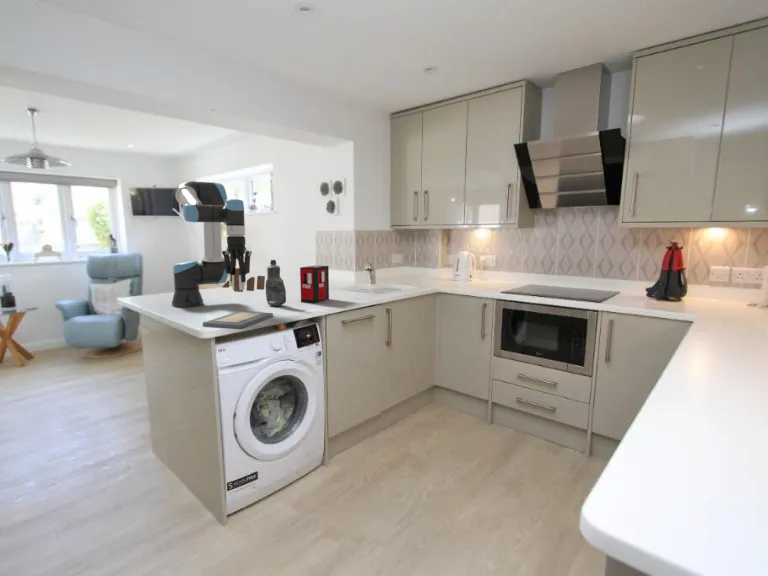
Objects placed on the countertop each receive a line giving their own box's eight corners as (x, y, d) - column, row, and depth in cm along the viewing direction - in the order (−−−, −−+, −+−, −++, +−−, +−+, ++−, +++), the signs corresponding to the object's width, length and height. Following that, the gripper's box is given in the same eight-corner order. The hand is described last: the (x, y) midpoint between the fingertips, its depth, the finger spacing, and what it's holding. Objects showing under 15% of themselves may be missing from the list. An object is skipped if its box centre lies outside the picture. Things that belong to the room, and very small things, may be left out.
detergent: (289, 305, 216) (288, 259, 213) (281, 308, 210) (279, 260, 206) (270, 304, 221) (268, 259, 218) (261, 306, 215) (259, 259, 211)
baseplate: (202, 326, 167) (202, 321, 167) (239, 314, 192) (239, 310, 192) (240, 328, 163) (240, 324, 163) (273, 316, 188) (272, 312, 188)
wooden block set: (262, 293, 186) (264, 271, 187) (265, 292, 178) (266, 270, 179) (221, 291, 179) (222, 268, 180) (221, 290, 171) (223, 267, 172)
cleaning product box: (314, 303, 224) (313, 267, 221) (301, 302, 227) (300, 267, 224) (329, 299, 239) (328, 265, 236) (316, 298, 242) (315, 265, 240)
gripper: (214, 235, 171) (217, 290, 174) (247, 235, 167) (249, 291, 170) (225, 235, 178) (228, 287, 181) (257, 235, 174) (259, 289, 177)
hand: (238, 289), depth 176 cm, fingers closed on wooden block set, 3 cm apart
